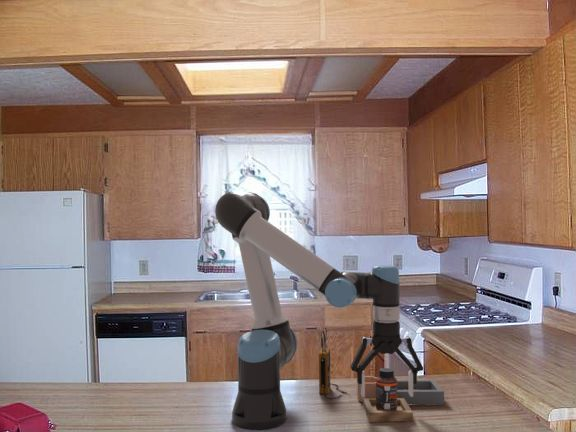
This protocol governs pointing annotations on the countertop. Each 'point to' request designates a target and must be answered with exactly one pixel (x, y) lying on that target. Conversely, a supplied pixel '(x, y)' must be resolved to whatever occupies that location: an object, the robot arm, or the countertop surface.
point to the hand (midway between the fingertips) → (386, 395)
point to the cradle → (421, 392)
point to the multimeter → (325, 369)
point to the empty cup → (367, 388)
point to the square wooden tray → (376, 416)
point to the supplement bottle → (386, 390)
